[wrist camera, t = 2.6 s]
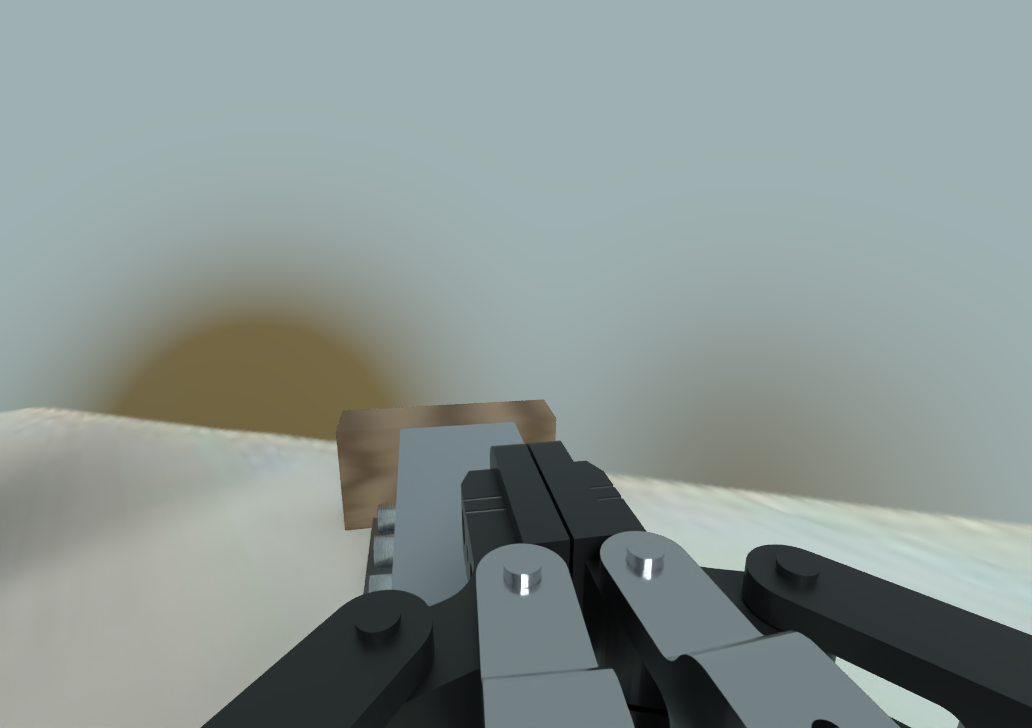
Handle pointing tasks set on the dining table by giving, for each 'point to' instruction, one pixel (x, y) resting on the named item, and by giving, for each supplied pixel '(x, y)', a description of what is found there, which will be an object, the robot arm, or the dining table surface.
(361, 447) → the stop bar
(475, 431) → the slate block
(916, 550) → the dining table surface
